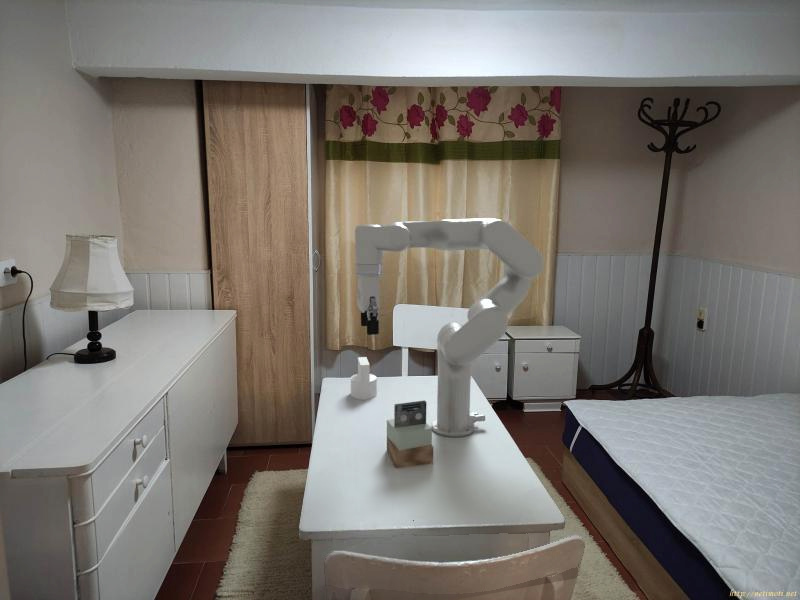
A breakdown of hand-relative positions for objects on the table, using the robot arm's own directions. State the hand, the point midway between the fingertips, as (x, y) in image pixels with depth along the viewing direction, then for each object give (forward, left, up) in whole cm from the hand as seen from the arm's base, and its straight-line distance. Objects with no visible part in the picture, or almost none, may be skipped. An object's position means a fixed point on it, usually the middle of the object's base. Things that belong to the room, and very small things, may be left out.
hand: (369, 329), depth 152 cm
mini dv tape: (-7, +18, -21) cm, 29 cm away
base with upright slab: (-3, -29, -31) cm, 42 cm away
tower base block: (-7, +18, -31) cm, 36 cm away
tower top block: (-7, +18, -26) cm, 32 cm away
